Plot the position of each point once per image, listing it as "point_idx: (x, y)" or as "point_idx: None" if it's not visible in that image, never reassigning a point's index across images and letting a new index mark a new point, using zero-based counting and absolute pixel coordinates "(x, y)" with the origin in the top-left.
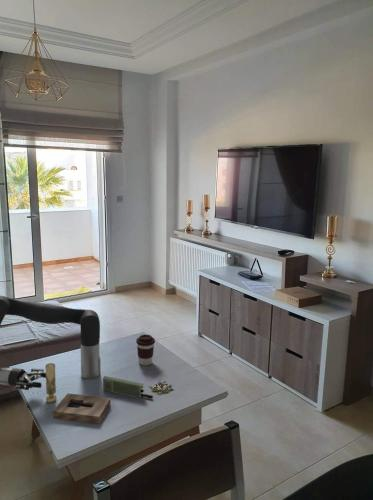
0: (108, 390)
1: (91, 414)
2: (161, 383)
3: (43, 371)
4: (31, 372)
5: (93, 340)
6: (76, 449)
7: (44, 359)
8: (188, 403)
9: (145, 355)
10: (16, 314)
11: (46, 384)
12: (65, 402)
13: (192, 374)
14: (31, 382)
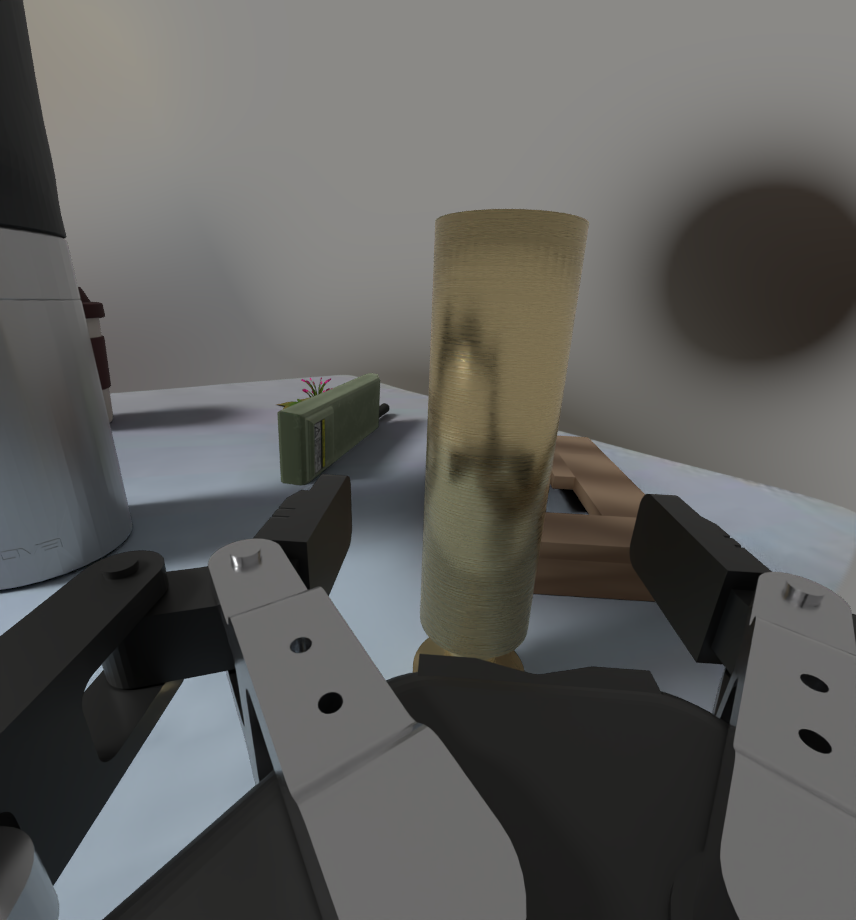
0: (326, 466)
1: (590, 449)
2: (322, 387)
3: (178, 571)
4: (311, 755)
5: (51, 175)
6: (771, 491)
7: None
8: (400, 391)
9: (104, 370)
10: None
11: (536, 530)
12: (557, 522)
13: (246, 385)
14: (795, 581)
